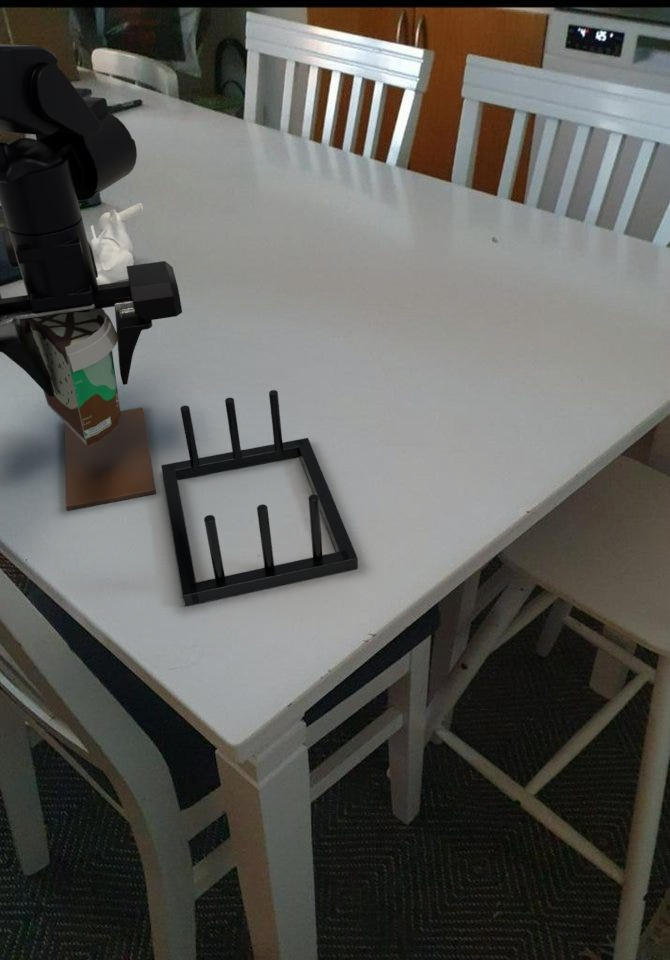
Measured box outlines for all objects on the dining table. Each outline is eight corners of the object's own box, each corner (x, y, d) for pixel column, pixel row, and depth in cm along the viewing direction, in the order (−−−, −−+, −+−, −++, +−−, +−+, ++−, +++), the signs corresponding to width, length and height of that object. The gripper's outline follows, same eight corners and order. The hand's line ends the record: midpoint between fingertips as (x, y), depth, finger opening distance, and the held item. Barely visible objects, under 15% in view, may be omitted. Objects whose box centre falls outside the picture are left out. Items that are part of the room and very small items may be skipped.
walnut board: (67, 510, 73) (65, 506, 73) (65, 424, 84) (64, 420, 83) (156, 493, 75) (155, 489, 74) (143, 410, 85) (142, 407, 85)
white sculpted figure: (116, 255, 116) (101, 187, 110) (165, 258, 114) (153, 190, 108) (77, 293, 107) (59, 222, 101) (130, 297, 105) (115, 225, 99)
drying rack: (185, 606, 64) (169, 535, 59) (163, 474, 77) (148, 407, 72) (358, 568, 66) (356, 497, 61) (308, 447, 79) (304, 380, 74)
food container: (157, 428, 74) (137, 327, 68) (93, 453, 71) (67, 349, 65) (101, 379, 82) (79, 285, 76) (42, 399, 79) (14, 302, 73)
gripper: (154, 174, 72) (180, 331, 82) (-68, 201, 68) (-12, 361, 78) (167, 220, 63) (195, 388, 73) (-86, 252, 60) (-21, 425, 70)
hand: (89, 388), depth 74 cm, fingers closed on food container, 6 cm apart
